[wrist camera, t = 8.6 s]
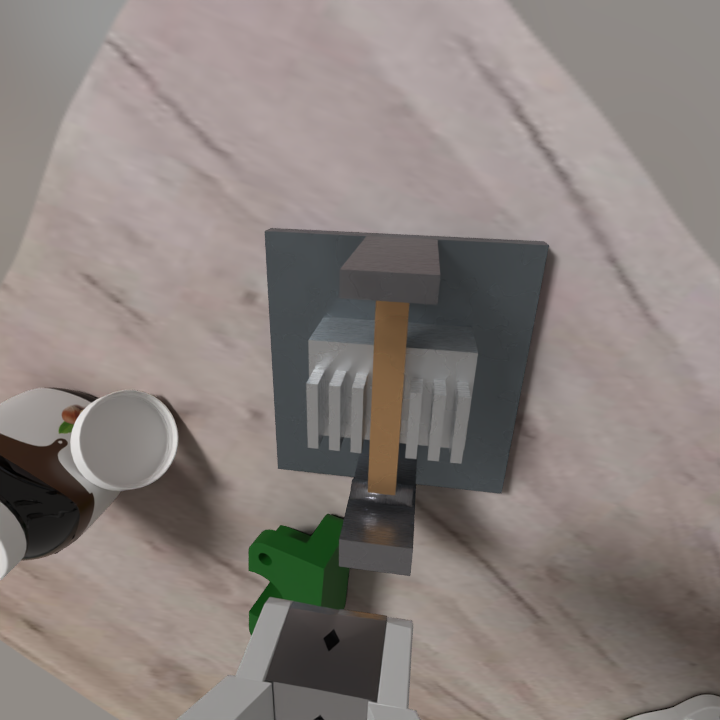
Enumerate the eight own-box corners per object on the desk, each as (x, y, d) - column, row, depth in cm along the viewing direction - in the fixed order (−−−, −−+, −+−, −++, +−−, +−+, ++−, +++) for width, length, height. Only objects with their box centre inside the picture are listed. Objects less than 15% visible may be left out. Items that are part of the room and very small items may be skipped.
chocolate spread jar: (19, 427, 37) (-143, 533, 27) (63, 324, 33) (-110, 404, 22) (146, 506, 39) (40, 636, 28) (205, 419, 34) (106, 535, 24)
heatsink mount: (544, 241, 26) (601, 284, 17) (499, 482, 33) (523, 600, 24) (271, 228, 28) (197, 261, 19) (282, 458, 35) (232, 560, 26)
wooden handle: (431, 284, 22) (431, 291, 21) (412, 497, 28) (411, 511, 27) (358, 280, 23) (355, 286, 22) (353, 490, 28) (349, 504, 27)
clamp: (307, 484, 41) (254, 513, 33) (369, 507, 39) (330, 543, 31) (276, 611, 42) (216, 673, 33) (336, 639, 40) (289, 711, 31)
